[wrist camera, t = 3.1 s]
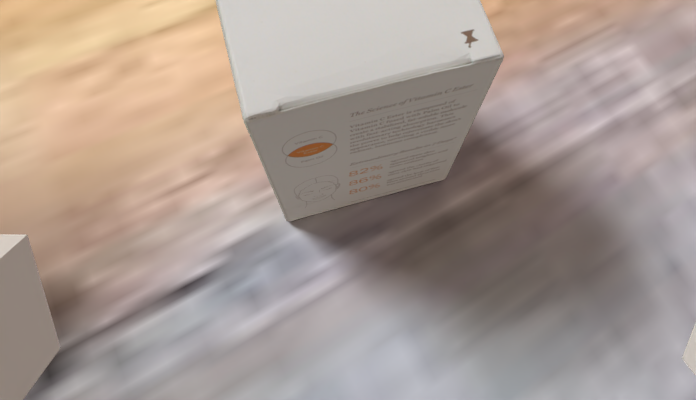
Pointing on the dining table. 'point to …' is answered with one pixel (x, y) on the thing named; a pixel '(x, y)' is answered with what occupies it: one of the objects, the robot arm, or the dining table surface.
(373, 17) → the small box
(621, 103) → the dining table surface
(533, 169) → the dining table surface
